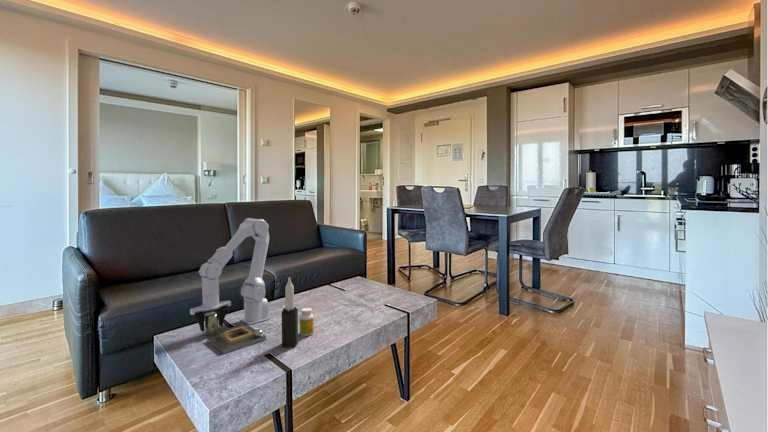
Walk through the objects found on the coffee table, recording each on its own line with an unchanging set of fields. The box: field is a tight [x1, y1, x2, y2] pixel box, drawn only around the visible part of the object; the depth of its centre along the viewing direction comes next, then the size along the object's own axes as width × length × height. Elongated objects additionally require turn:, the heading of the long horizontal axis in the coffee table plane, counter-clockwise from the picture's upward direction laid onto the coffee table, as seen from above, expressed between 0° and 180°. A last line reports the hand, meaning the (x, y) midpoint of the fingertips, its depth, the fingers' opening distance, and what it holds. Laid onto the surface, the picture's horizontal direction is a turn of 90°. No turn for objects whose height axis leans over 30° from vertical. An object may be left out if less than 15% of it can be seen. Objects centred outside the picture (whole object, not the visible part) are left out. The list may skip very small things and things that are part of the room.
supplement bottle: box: [299, 307, 315, 337], centre depth 136 cm, size 5×5×10 cm
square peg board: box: [206, 325, 267, 355], centre depth 128 cm, size 16×14×4 cm
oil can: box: [204, 310, 219, 338], centre depth 134 cm, size 5×5×10 cm
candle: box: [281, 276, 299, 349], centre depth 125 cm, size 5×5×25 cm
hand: (211, 328), depth 134 cm, fingers open, 6 cm apart
